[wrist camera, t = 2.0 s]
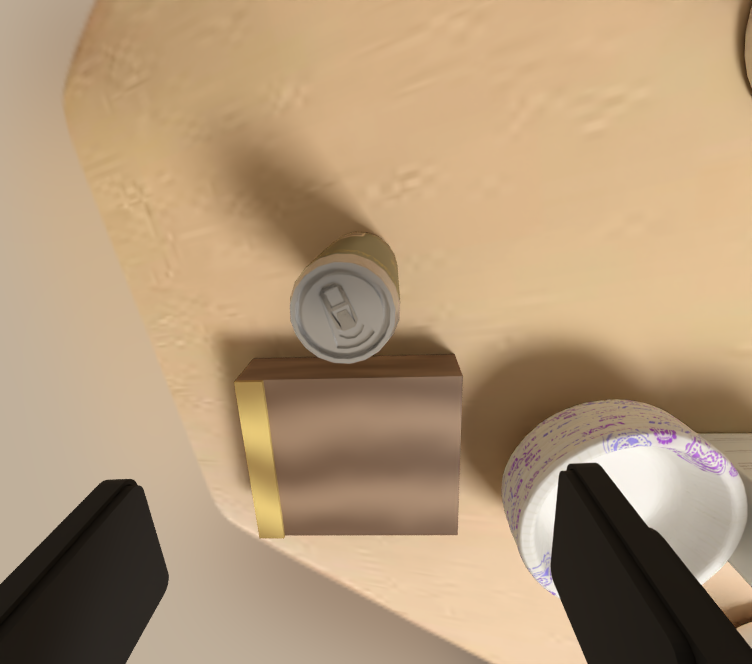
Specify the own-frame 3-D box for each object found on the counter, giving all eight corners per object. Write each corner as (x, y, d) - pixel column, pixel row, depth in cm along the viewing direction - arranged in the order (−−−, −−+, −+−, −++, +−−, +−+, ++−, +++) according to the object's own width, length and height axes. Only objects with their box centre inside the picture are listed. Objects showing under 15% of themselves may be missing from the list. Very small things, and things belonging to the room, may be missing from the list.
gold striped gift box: (253, 358, 33) (233, 382, 29) (454, 354, 32) (463, 378, 28) (273, 500, 38) (259, 538, 34) (450, 499, 37) (458, 538, 33)
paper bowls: (680, 365, 32) (768, 419, 25) (671, 520, 37) (742, 604, 29) (482, 393, 33) (509, 453, 26) (499, 539, 38) (525, 624, 31)
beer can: (311, 250, 30) (263, 286, 19) (378, 217, 29) (370, 236, 18) (344, 314, 32) (318, 384, 20) (409, 285, 31) (419, 342, 19)
